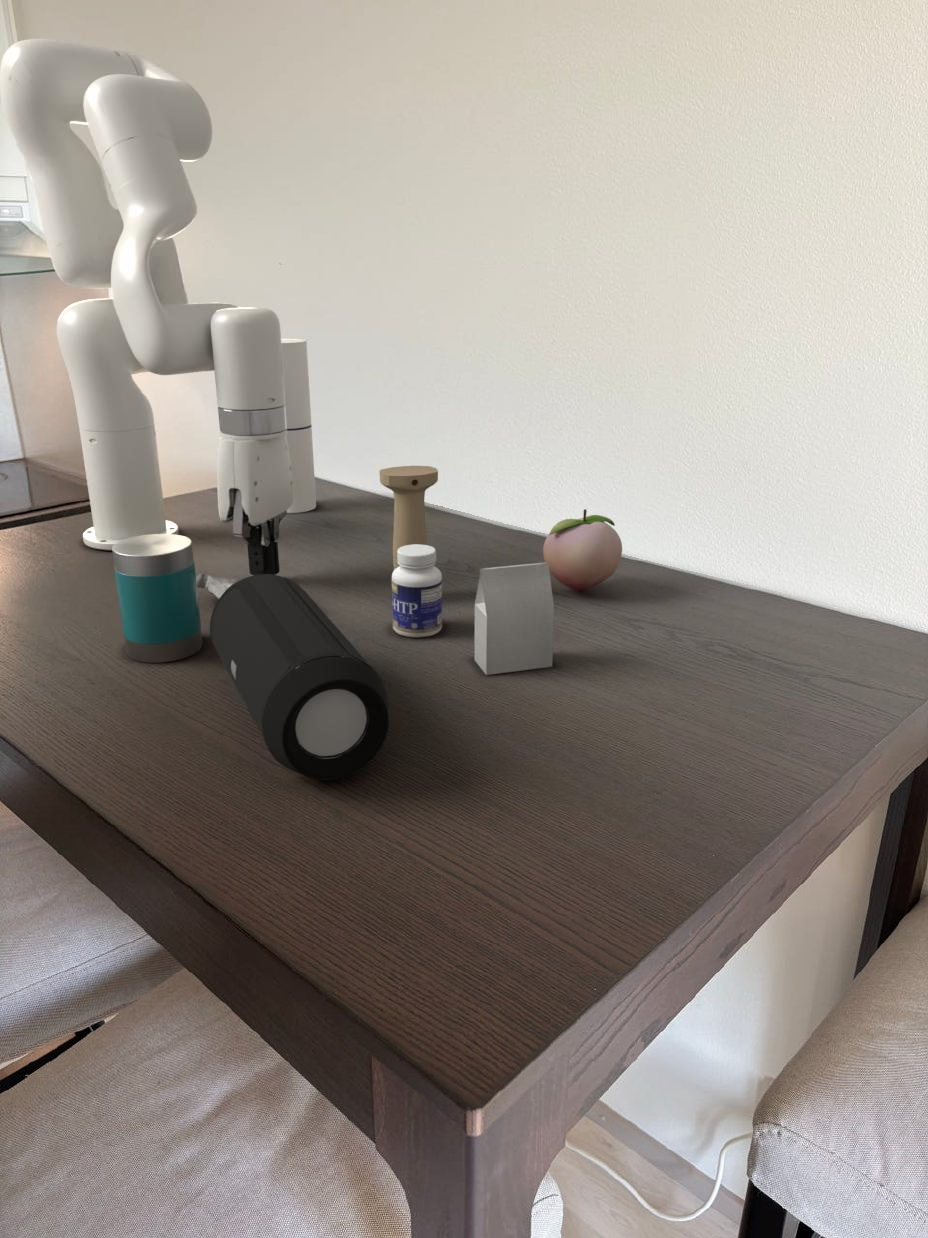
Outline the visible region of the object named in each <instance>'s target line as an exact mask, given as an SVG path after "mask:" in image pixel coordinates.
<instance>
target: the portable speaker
mask: <svg viewBox="0 0 928 1238" xmlns="http://www.w3.org/2000/svg"><path fill="white" fill-rule="evenodd" d="M209 633H210V639H211V642H212V645H213V647H214V649H215V651H216V652H217V654H218V656H219V657H220V660H221V661H222V663H223V665H224V666H225V669H226V671H227V672H228V674H229V676H230V678H231V680H232V682H233V683H234V685H235V687H236V689H237V692H238V693H239V695H240V697H241V698H242V700H243V702H244V704H245V707H246V708H247V710H248V711H249V714H250V715H251V717H252V720H253V721H254V723H255V725H256V727H257V729H258V731H259V733H260V734H261V736H262V738H263V740H264V743H265V745H266V747H267V750H268V752H270V754H271V756H272V757H273V758H274V759H275V761H277V763H279V764H280V765H281V766H283V767H285V768H286V769H288V770H290V771H292V772H295V773H297V774H300V775H303V776H305V777H308V778H311V779H315V780H319V781H320V780H321V781H333V780H339V779H343V778H346V777H349V776H352V775H353V774H355V773H357V772H358V771H361V769H363V768H365V767H366V766H367V765H369V764H370V763H371V761H372V760H374V758H375V757H376V756H378V754H379V752H380V751H381V749H382V748H383V746H384V743H385V742H386V738H387V736H388V732H389V725H390V712H389V711H390V710H389V697H388V693H387V692H388V691H387V690H386V687H385V685H384V682H383V680H382V678H381V677H380V676H379V674H378V673H377V672H376V671H375V669H374V668H373V667H372V666H371V665H370V663H369V662H368V661H367V660H366V658H364V656H362V654H361V653H360V652H359V651H358V649H357V648H356V647H355V646H354V645H353V644H352V643H351V642H350V641H349V639H348V638H347V637H346V636H345V635H344V634H343V633H342V631H341V630H340V629H339V628H338V627H337V625H335V624H334V622H333V621H332V620H331V619H330V618H329V617H328V615H327V614H326V613H325V612H324V611H323V610H322V609H321V608H320V606H319V605H318V604H317V603H316V602H315V601H314V600H313V599H312V597H311V595H309V594H308V592H306V590H305V589H304V588H302V587H301V586H300V585H299V584H298V583H296V582H295V581H293V580H291V579H290V578H287V577H284V576H281V575H277V574H275V575H272V574H261V575H249V576H247V577H243V578H241V579H239V580H238V581H237V582H235V583H234V584H232V585H231V586H230V587H229V588H228V589H227V590H226V591H225V592H224V593H223V594H222V596H221V597H220V598H219V599H218V600H217V601H216V604H215V605H214V607H213V610H212V613H211V616H210V622H209Z"/></svg>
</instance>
